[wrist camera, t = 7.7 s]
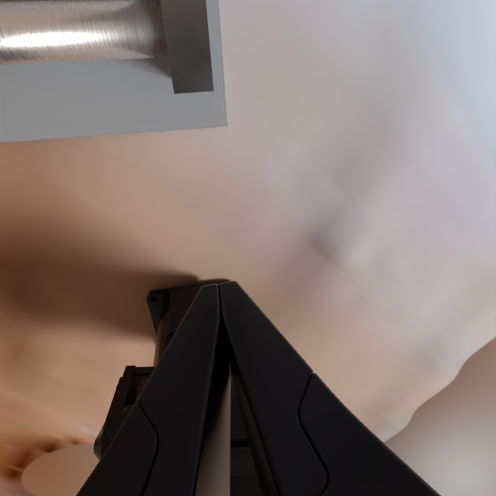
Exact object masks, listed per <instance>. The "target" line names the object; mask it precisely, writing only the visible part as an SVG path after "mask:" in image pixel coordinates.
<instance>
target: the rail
mask: <svg viewBox="0 0 496 496" xmlns="http://www.w3.org/2000/svg"><path fill="white" fill-rule="evenodd" d="M161 57H169V64H170V70H171V77H172V84H173V90H174V94H179V93H196V92H212V91H214V87H213V76H212V64H211V53H210V41H209V30H208V19H207V7H206V0H55V1H26V2H0V66H6V65H25V64H45V63H64V62H83V61H103V60H122V59H142V58H161Z"/></svg>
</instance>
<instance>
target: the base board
mask: <svg viewBox="0 0 496 496" xmlns="http://www.w3.org/2000/svg"><path fill="white" fill-rule="evenodd" d="M26 1H55V0H0V2H26ZM206 7H207V19H208V30H209V41H210V53H211V64H212V76H213V87H214V91H212V92H196V93H179V94H174V90H173V84H172V77H171V70H170V64H169V57H161V58H142V59H122V60H103V61H83V62H64V63H45V64H25V65H6V66H0V143H1V142H15V141H29V140H42V139H56V138H70V137H84V136H98V135H112V134H126V133H140V132H154V131H168V130H182V129H196V128H210V127H224V126H227V114H226V100H225V86H224V71H223V57H222V43H221V29H220V14H219V0H206Z"/></svg>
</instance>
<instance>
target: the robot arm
mask: <svg viewBox="0 0 496 496" xmlns="http://www.w3.org/2000/svg"><path fill="white" fill-rule="evenodd" d="M152 297H156V298H152ZM147 302H148V305H149V309H150V312H151V316H152V320H153V323H154V327H155V330H156V334H157V341H156V349H155V356H154V364H153V367H136V366H126V368H125V371H124V374H123V377H120V380H119V383H118V385H117V387H116V391H115V394H114V397H113V400H112V403H111V406H110V409H109V412H108V415H107V418H106V421H105V423H104V425H103V427H102V429H101V431H100V432H99V434H98V436H97V438H96V440H95V443H94V454H95V455H96V457H97V458H98V459H99V460H100V461H99V463H98V464H97V466H96V467H95V469H94V470H93V472H92V473H91V475H90V476H89V477H88V479H87V481H86V482H85V483H84V485H83V486H82V488H81V489H80V491H79V492H78V493H77V495H76V496H441V495H439V494H438V493H437V492H436V491H435V490H434V489H433V488H432V487H431V486H430V485H429V484H427V483H426V482H425V481H424V480H423V479H422V478H421V477H420V476H419V475H418V474H417V473H416V472H414V471H413V470H412V469H411V468H410V467H409V466H408V465H407V464H406V463H405V462H404V461H403V460H401V459H400V458H399V457H398V456H397V455H396V454H395V453H394V452H393V451H392V450H391V449H390V448H389V447H387V446H386V445H385V444H384V443H383V442H382V441H381V440H380V439H379V438H378V437H377V436H376V435H375V434H373V433H372V432H371V431H370V430H369V429H368V428H367V427H366V426H365V425H364V424H363V423H362V422H361V421H360V420H359V419H358V418H357V417H356V416H355V415H354V414H353V413H352V412H351V411H350V410H349V409H348V408H346V406H345V405H344V404H343V403H342V402H341V401H340V400H339V399H338V398H337V397H336V396H335V394H334V393H333V392H332V391H331V390H330V389H329V388H328V387H327V386H326V385H325V383H324V382H323V381H322V380H321V379H320V378H319V376H318V375H317V374H316V373H313V370H312V369H311V367H310V366H309V365H308V364H307V363H306V362H305V360H304V359H303V358H302V357H301V356H300V355H299V354H298V352H297V351H296V350H295V349H294V348H293V347H292V345H291V344H290V343H289V342H288V341H287V340H286V338H285V337H284V336H283V335H282V334H281V333H280V332H279V330H278V329H277V328H276V327H275V326H274V325H273V323H272V322H271V321H270V320H269V319H268V318H267V316H266V315H265V314H264V313H263V312H262V311H261V310H260V308H259V307H258V306H257V305H256V304H255V303H254V301H253V300H252V299H251V298H250V297H249V296H248V294H247V293H246V292H245V291H244V290H243V289H242V288H241V286H240V285H239V284H238V283H237V282H236V281H229V282H222V283H214V284H206V285H197V286H188V287H180V288H171V289H162V290H154V291H150V292H149V293H148V295H147Z"/></svg>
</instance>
